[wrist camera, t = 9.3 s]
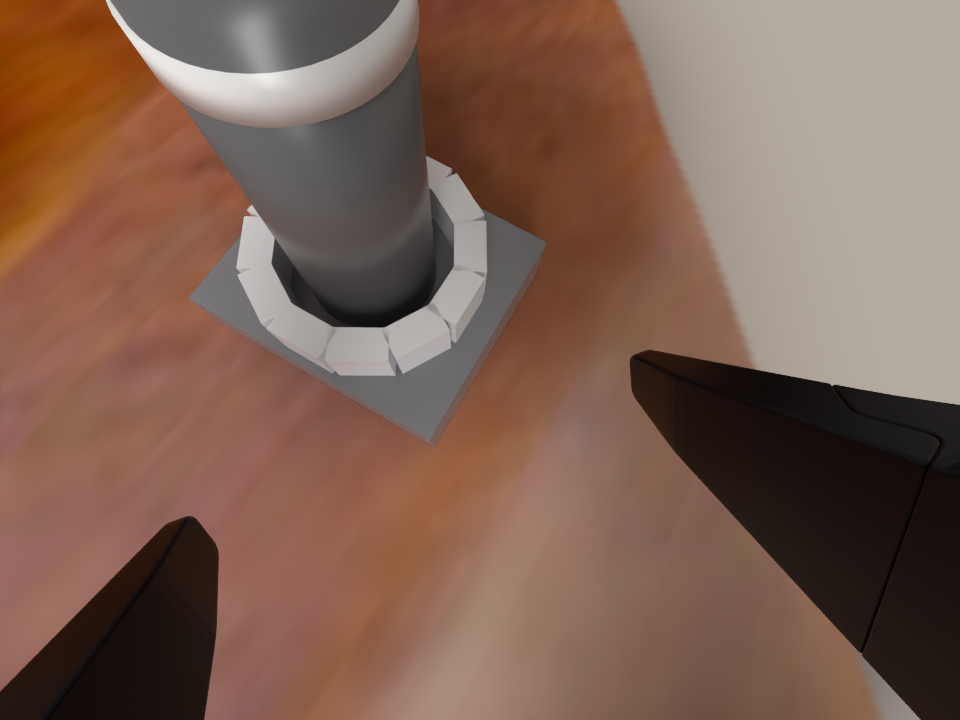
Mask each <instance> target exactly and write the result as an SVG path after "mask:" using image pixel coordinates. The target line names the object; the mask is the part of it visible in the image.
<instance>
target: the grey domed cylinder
mask: <svg viewBox="0 0 960 720" xmlns="http://www.w3.org/2000/svg"><path fill="white" fill-rule="evenodd" d="M106 2H107V4H108V6H109V8H110V11H111V13H112V15H113V17H114V18H115V19H116V21H117V22H118V24H119V25H120V27H121V28H122V30H123V31H124V32H125V34H126V35H127V37H128V38H129V39H130V41H131V42H132V44H133V45H134V46H135V48H136V49H137V51H138V52H139V53H140V55H141V56H142V58H143V59H144V61H145V62H146V63H147V65H148V66H149V68H150V69H151V70H152V72H153V73H154V75H155V76H156V77H157V79H158V80H159V82H160V83H161V84H162V85H163V86H164V87H165V88H166V89H167V90H168V91H169V92H170V93H171V94H172V95H173V96H175V97H176V98H177V99H179V101H180V102H181V103H182V105H183V106H184V108H185V109H186V111H187V112H188V113H189V115H190V116H191V118H192V119H193V121H194V122H195V124H196V125H197V126H198V128H199V129H200V131H201V132H202V134H203V135H204V137H205V138H206V139H207V141H208V142H209V144H210V145H211V147H212V148H213V150H214V151H215V152H216V154H217V155H218V157H219V158H220V160H221V161H222V162H223V164H224V165H225V167H226V168H227V170H228V171H229V173H230V174H231V175H232V177H233V178H234V180H235V181H236V183H237V184H238V186H239V187H240V188H241V190H242V191H243V193H244V194H245V196H246V197H247V199H248V200H249V201H250V203H251V204H252V206H253V207H254V209H255V210H256V211H257V213H258V214H259V216H260V217H261V219H262V220H263V222H264V223H265V224H266V226H267V227H268V229H269V230H270V232H271V233H272V235H273V236H274V237H275V239H276V240H277V242H278V243H279V245H280V246H281V248H282V249H283V250H284V252H285V253H286V255H287V256H288V258H289V259H290V260H291V262H292V263H293V265H294V266H295V268H296V269H297V271H298V272H299V273H300V275H301V276H302V278H303V279H304V281H305V282H306V284H307V285H308V286H309V288H310V289H311V291H312V292H313V294H314V295H315V297H316V298H317V299H318V301H319V302H320V304H321V305H322V307H323V308H324V309H325V310H326V311H327V312H328V313H329V314H330V315H332V316H333V317H334V318H336V319H338V320H339V321H341V322H343V323H345V324H348V325H351V326H354V327H363V328H384V327H387V326H389V325H391V324H393V323H394V322H396V321H398V320H400V319H402V318H404V317H406V316H408V315H410V314H412V313H414V312H416V311H418V310H419V309H420V308H421V307H422V306H423V305H424V304H425V302H426V301H427V299H428V298H429V296H430V294H431V292H432V290H433V287H434V284H435V279H436V262H435V250H434V239H433V228H432V216H431V205H430V194H429V182H428V171H427V160H426V148H425V137H424V126H423V114H422V103H421V92H420V80H419V69H418V58H417V46H416V40H417V36H418V31H419V10H418V0H106Z"/></svg>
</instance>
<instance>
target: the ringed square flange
mask: <svg viewBox="0 0 960 720" xmlns="http://www.w3.org/2000/svg"><path fill="white" fill-rule="evenodd" d="M426 160H427V171H428V182H429V194H430V205H431V216H432V228H433V239H434V250H435V262H436V279H435V284H434V287H433V290H432V292H431V294H430V296H429V298H428V299H427V301H426V302H425V304H424V305H423V306H422V307H421V308H420V309H419V310H418V311H416V312H414V313H412V314H410V315H408V316H406V317H404V318H402V319H400V320H398V321H396V322H394V323H393V324H391V325H389V326H387V327H384V328H363V327H354V326H351V325H348V324H345V323H343V322H341V321H339V320H338V319H336V318H334V317H333V316H332V315H330V314H329V313H328V312H327V311H326V310H325V309H324V308H323V307H322V305H321V304H320V302H319V301H318V299H317V298H316V297H315V295H314V294H313V292H312V291H311V289H310V288H309V286H308V285H307V284H306V282H305V281H304V279H303V278H302V276H301V275H300V273H299V272H298V271H297V269H296V268H295V266H294V265H293V263H292V262H291V260H290V259H289V258H288V256H287V255H286V253H285V252H284V250H283V249H282V248H281V246H280V245H279V243H278V242H277V240H276V239H275V237H274V236H273V235H272V233H271V232H270V230H269V229H268V227H267V226H266V224H265V223H264V222H263V220H262V219H261V217H260V216H259V214H258V213H257V211H256V210H255V209H254V207H253V206H252V205H251V206H250V207H249V208H248V210H247V211H248V212H249V213H250V215H251V216H244V221H243V227H242V234H241V236H240V237H239V238H238V239H237V241H236V242H235V243H234V244H233V245H232V247H231V248H230V249H229V250H228V251H227V253H226V254H225V255H224V256H223V257H222V259H221V260H220V261H219V262H218V263H217V265H216V266H215V267H214V268H213V269H212V271H211V272H210V273H209V274H208V275H207V277H206V278H205V279H204V280H203V281H202V283H201V284H200V285H199V286H198V288H197V289H196V290H195V291H194V292H193V294H192V295H191V296H190V297H189V298H188V299H190V300H191V301H193V302H194V303H195V304H197V305H198V306H199V307H201V308H202V309H204V310H205V311H206V312H208V313H209V314H210V315H212V316H213V317H215V318H216V319H217V320H219V321H220V322H221V323H223V324H224V325H226V326H227V327H229V328H231V329H232V330H234V331H236V332H237V333H239V334H241V335H243V336H244V337H246V338H248V339H249V340H251V341H253V342H255V343H256V344H258V345H260V346H261V347H263V348H265V349H266V350H268V351H270V352H272V353H273V354H275V355H277V356H278V357H280V358H282V359H284V360H285V361H287V362H289V363H290V364H292V365H294V366H295V367H297V368H299V369H301V370H302V371H304V372H306V373H307V374H309V375H311V376H313V377H314V378H316V379H318V380H319V381H321V382H323V383H324V384H326V385H328V386H330V387H331V388H333V389H335V390H336V391H338V392H340V393H342V394H343V395H345V396H347V397H348V398H350V399H352V400H353V401H355V402H357V403H359V404H360V405H362V406H364V407H365V408H367V409H369V410H371V411H372V412H374V413H376V414H377V415H379V416H381V417H382V418H384V419H386V420H388V421H389V422H391V423H393V424H394V425H396V426H398V427H400V428H401V429H403V430H405V431H406V432H408V433H410V434H411V435H413V436H415V437H417V438H418V439H420V440H422V441H423V442H425V443H427V444H429V445H430V446H432V447H435V445H436V443H437V441H438V440H439V438H440V436H441V435H442V433H443V431H444V430H445V428H446V426H447V425H448V423H449V421H450V419H451V418H452V416H453V414H454V413H455V411H456V409H457V408H458V406H459V404H460V403H461V401H462V399H463V397H464V396H465V394H466V392H467V391H468V389H469V387H470V386H471V384H472V382H473V381H474V379H475V377H476V375H477V374H478V372H479V370H480V369H481V367H482V365H483V364H484V362H485V360H486V359H487V357H488V355H489V353H490V352H491V350H492V348H493V347H494V345H495V343H496V342H497V340H498V338H499V337H500V335H501V333H502V331H503V330H504V328H505V326H506V325H507V323H508V321H509V320H510V318H511V316H512V315H513V313H514V311H515V309H516V308H517V306H518V304H519V303H520V301H521V299H522V298H523V296H524V294H525V293H526V291H527V289H528V287H529V286H530V284H531V282H532V281H533V279H534V277H535V276H536V273H537V270H538V267H539V265H540V262H541V259H542V256H543V253H544V250H545V247H546V245H547V242H546V241H544V240H542V239H540V238H538V237H536V236H534V235H532V234H530V233H528V232H526V231H524V230H522V229H520V228H519V227H517V226H515V225H513V224H511V223H509V222H507V221H505V220H503V219H501V218H499V217H497V216H495V215H493V214H492V213H490V212H488V211H486V210H484V209H482V208H480V207H479V206H478V204H477V203H476V201H475V200H474V198H473V197H472V195H471V194H470V192H469V191H468V189H467V188H466V186H465V185H464V183H463V182H462V180H461V179H460V177H459V176H458V174H457V173H456V174H454V175H452V169H451V168H449V167H447V166H446V165H444V164H442V163H440V162H438V161H436V160H434V159H432V158H430V157H428V156H426Z"/></svg>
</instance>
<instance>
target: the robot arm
mask: <svg viewBox="0 0 960 720" xmlns="http://www.w3.org/2000/svg"><path fill="white" fill-rule="evenodd" d="M630 374H631V387H632V392H633V395H634V397H635V399H636V400H637V401H638V403H639V404H640V406H641V407H642V408H643V410H644V411H645V412H646V414H647V415H648V416H649V418H650V419H651V421H652V422H653V423H654V425H655V426H656V427H657V429H658V430H659V431H660V433H661V434H662V436H663V437H664V438H665V440H666V441H667V442H668V444H669V445H670V446H671V448H672V449H673V450H674V451H675V453H676V454H677V455H678V456H679V457H680V458H681V459H682V461H683V462H684V463H685V464H686V465H687V466H688V467H689V468H690V469H691V470H692V471H693V472H694V474H695V475H696V476H697V477H698V478H699V479H700V480H701V481H702V482H703V483H704V484H705V485H706V487H707V488H708V489H709V490H710V491H711V492H712V493H713V494H714V495H715V496H716V497H717V499H718V500H719V501H720V502H721V503H722V504H723V505H724V506H725V507H726V508H727V509H728V510H729V512H730V513H731V514H732V515H733V516H734V517H735V518H736V519H737V520H738V521H739V522H740V523H741V525H742V526H743V527H744V528H745V529H746V530H747V531H748V532H749V533H750V534H751V535H752V537H753V538H754V539H755V540H756V541H757V542H758V543H759V544H760V545H761V546H762V547H763V548H764V550H765V551H766V552H767V553H768V554H769V555H770V556H771V557H772V558H773V559H774V560H775V561H776V563H777V564H778V565H779V566H780V567H781V568H782V569H783V570H784V571H785V572H786V573H787V574H788V576H789V577H790V578H791V579H792V580H793V581H794V582H795V583H796V584H797V585H798V586H799V588H800V589H801V590H802V591H803V592H804V593H805V594H806V595H807V596H808V597H809V598H810V599H811V601H812V602H813V603H814V604H815V605H816V606H817V607H818V608H819V609H820V610H821V611H822V612H823V614H824V615H825V616H826V617H827V618H828V619H829V620H830V621H831V622H832V623H833V624H834V626H835V627H836V628H837V629H838V630H839V631H840V632H841V633H842V634H843V635H844V636H845V637H846V639H847V640H848V641H849V642H850V643H851V644H852V645H853V646H854V647H855V648H856V649H857V650H858V651H859V652H860V653H862V656H863V657H864V659H865V660H866V661H867V662H868V663H869V664H870V665H871V666H872V667H873V668H874V669H875V670H876V672H877V673H878V674H879V675H880V676H881V677H882V678H883V679H884V680H885V681H886V682H887V684H888V685H889V686H890V687H891V688H892V689H893V690H894V691H895V692H896V693H897V694H898V695H899V697H900V698H901V699H902V700H903V701H904V702H905V703H906V704H907V705H908V706H909V707H910V708H911V710H912V711H913V712H914V713H915V714H916V715H917V716H918V717H919V718H920V719H921V720H960V405H956V404H949V403H942V402H935V401H928V400H922V399H914V398H908V397H901V396H895V395H889V394H883V393H878V392H872V391H866V390H860V389H855V388H850V387H845V386H839V385H833V386H831V385H830V384H828V383H823V382H818V381H813V380H807V379H802V378H797V377H791V376H786V375H781V374H775V373H770V372H765V371H760V370H754V369H749V368H744V367H738V366H733V365H728V364H723V363H717V362H712V361H707V360H701V359H696V358H691V357H686V356H680V355H675V354H670V353H664V352H659V351H654V350H646V351H643V352H641V353H638V354H635V355H633V356H632V357H631V359H630ZM218 566H219V553H218V549H217V546H216V544H215V542H214V541H213V540H212V538H211V537H210V536H209V534H208V533H207V532H206V530H205V529H204V528H203V527H202V525H201V524H200V523H199V521H198V520H197V519H196V518H194V517H192V516H186V517H183V518H180V519H178V520H175V521H172V522H169V523H168V524H166V525H165V526H164V527H163V528H162V529H161V530H160V531H159V532H158V533H157V534H156V535H155V536H154V537H153V538H152V539H151V540H150V541H149V542H148V543H147V544H146V545H145V546H144V547H143V548H142V549H141V550H140V551H139V552H138V553H137V554H136V555H135V556H134V557H133V558H132V559H131V560H130V561H129V562H128V563H127V564H126V565H125V566H124V567H123V568H122V569H121V570H120V571H119V572H118V573H117V574H116V575H115V576H114V577H113V578H112V579H111V580H110V581H109V582H108V583H107V584H106V585H105V586H104V587H103V588H102V589H101V590H100V591H99V592H98V593H97V594H96V595H95V596H94V597H93V598H92V599H91V600H90V601H89V602H88V603H87V604H86V605H85V606H84V607H83V608H82V609H81V610H80V611H79V612H78V613H77V614H76V615H75V617H74V618H73V619H72V620H71V621H70V622H69V623H68V624H67V625H66V626H65V627H64V628H63V629H62V630H61V631H60V632H59V633H58V634H57V635H56V636H55V637H54V638H53V639H52V640H51V641H50V642H49V643H48V644H47V645H46V646H45V647H44V648H43V649H42V650H41V651H40V652H39V653H38V654H37V655H36V656H35V657H34V658H33V659H32V660H31V661H30V662H29V663H28V664H27V665H26V666H25V667H24V668H23V669H22V670H21V671H20V672H19V673H18V674H17V675H16V676H15V677H14V678H13V679H12V680H11V681H10V682H9V683H8V684H7V685H6V686H5V687H4V688H3V689H2V690H1V691H0V720H204V718H205V711H206V704H207V697H208V690H209V683H210V676H211V669H212V662H213V655H214V648H215V639H216V628H217V601H218Z"/></svg>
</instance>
